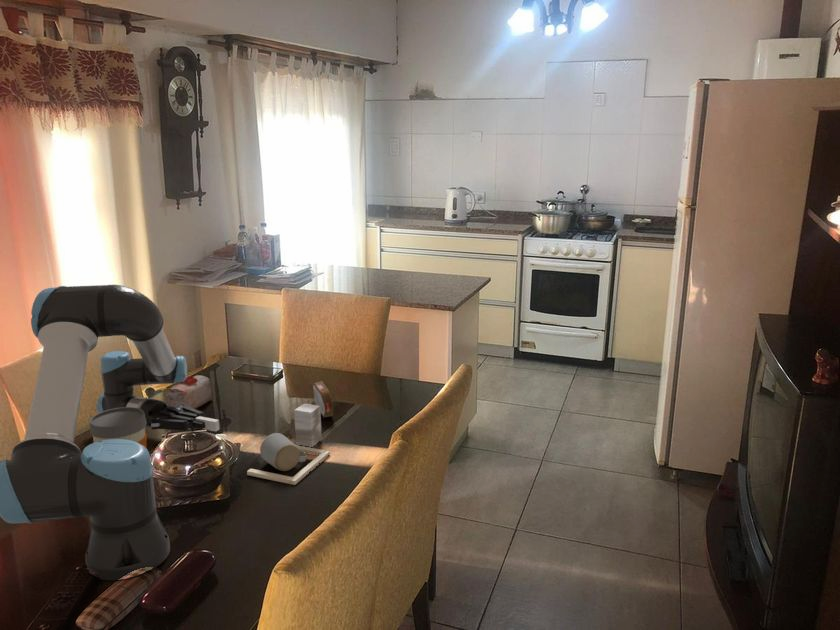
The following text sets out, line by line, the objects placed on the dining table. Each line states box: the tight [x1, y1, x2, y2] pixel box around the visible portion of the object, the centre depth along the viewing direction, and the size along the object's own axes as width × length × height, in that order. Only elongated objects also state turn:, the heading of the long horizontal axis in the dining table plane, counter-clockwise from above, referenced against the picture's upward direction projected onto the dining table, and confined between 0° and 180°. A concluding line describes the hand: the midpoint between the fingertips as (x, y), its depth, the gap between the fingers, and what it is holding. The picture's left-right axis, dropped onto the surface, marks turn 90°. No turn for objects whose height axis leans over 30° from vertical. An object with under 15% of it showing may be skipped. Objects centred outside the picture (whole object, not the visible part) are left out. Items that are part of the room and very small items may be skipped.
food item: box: [165, 375, 213, 410], centre depth 204 cm, size 14×8×10 cm, turn 161°
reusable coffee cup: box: [89, 407, 148, 449], centre depth 163 cm, size 13×13×15 cm
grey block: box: [293, 403, 323, 448], centre depth 180 cm, size 5×5×10 cm
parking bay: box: [246, 444, 331, 486], centre depth 169 cm, size 17×14×1 cm
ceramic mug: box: [259, 432, 308, 472], centre depth 168 cm, size 11×8×8 cm
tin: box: [312, 380, 334, 418], centre depth 201 cm, size 15×3×8 cm, turn 22°
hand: (217, 425), depth 176 cm, fingers closed
